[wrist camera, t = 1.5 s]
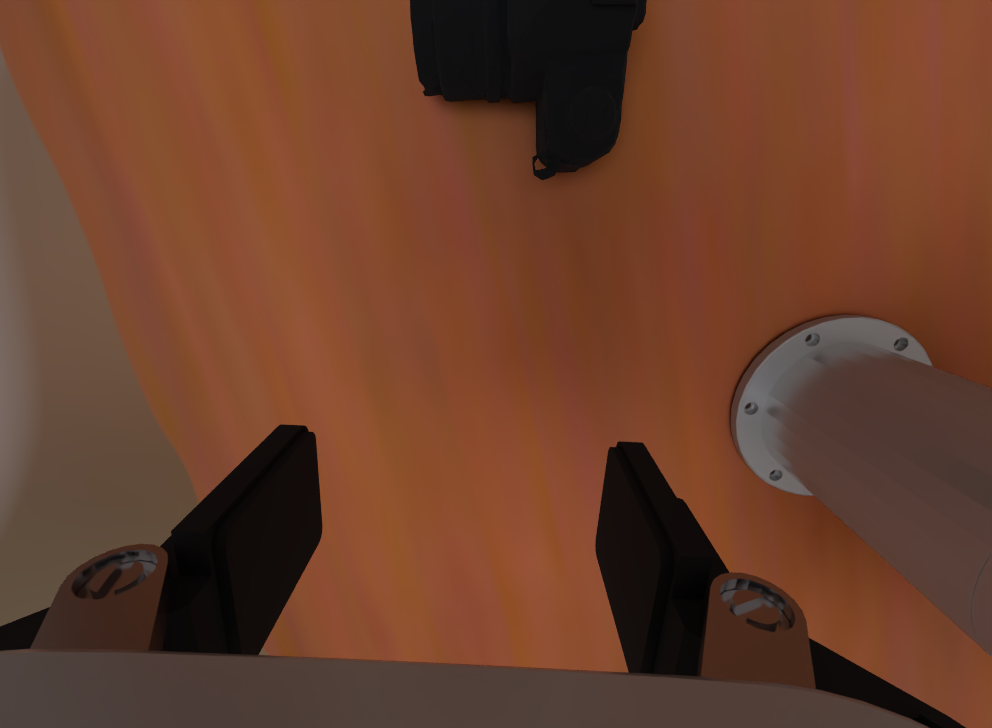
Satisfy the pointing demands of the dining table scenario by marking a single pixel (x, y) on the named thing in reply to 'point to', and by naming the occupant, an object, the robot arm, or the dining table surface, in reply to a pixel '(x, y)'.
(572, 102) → the film camera
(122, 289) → the dining table surface
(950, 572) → the robot arm
